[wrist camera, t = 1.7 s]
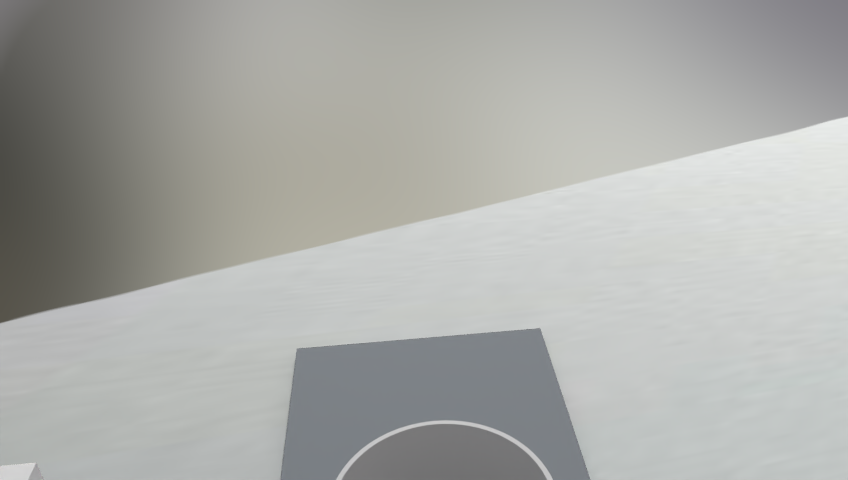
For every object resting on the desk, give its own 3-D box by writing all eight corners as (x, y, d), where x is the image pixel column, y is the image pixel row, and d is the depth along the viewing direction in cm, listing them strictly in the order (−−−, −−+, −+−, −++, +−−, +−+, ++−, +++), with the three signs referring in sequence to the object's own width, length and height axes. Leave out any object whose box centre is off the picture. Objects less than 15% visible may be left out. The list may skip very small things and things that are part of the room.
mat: (274, 551, 37) (272, 543, 36) (298, 355, 50) (296, 348, 49) (600, 521, 37) (601, 513, 37) (539, 335, 50) (540, 328, 50)
